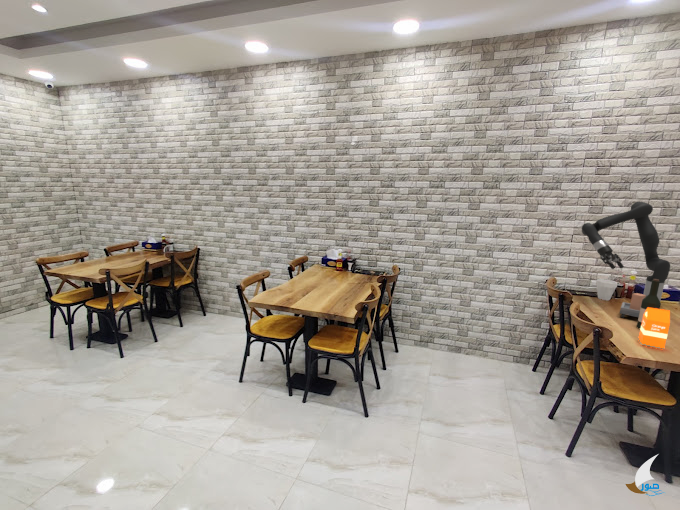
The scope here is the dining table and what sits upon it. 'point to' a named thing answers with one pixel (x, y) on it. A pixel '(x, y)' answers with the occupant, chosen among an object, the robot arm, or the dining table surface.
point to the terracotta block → (636, 301)
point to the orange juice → (655, 327)
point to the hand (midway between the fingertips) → (618, 268)
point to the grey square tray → (628, 310)
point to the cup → (605, 288)
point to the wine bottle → (649, 301)
